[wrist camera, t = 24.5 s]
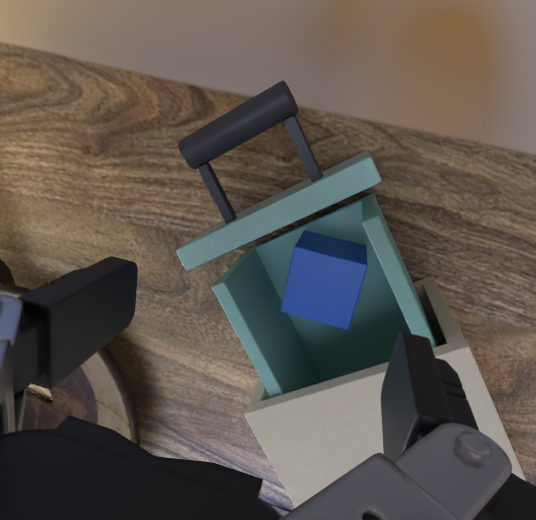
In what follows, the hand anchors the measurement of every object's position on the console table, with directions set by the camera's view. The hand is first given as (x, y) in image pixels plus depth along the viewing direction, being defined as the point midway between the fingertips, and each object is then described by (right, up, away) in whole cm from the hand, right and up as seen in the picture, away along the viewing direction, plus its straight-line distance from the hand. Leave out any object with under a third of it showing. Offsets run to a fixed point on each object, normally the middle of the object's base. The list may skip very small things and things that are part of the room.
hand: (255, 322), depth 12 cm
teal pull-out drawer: (+4, +2, +15) cm, 16 cm away
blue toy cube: (+4, +1, +14) cm, 15 cm away
